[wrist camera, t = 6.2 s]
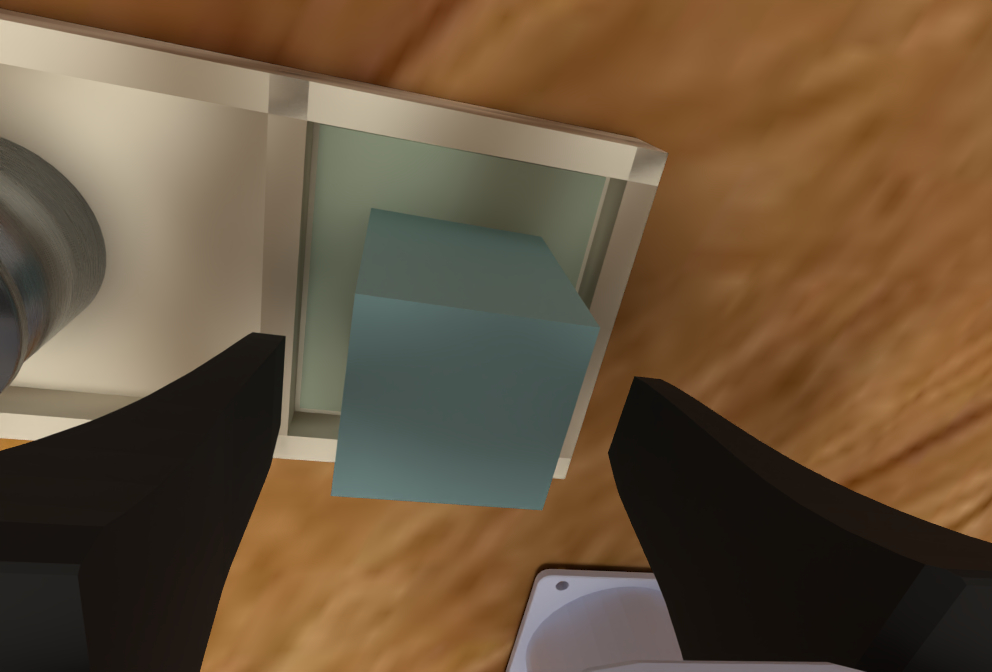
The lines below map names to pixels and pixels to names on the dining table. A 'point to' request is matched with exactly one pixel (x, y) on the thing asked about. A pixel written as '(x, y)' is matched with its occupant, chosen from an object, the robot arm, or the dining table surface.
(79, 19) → the dining table surface
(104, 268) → the grey tin
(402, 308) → the teal block
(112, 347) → the birch organizer
